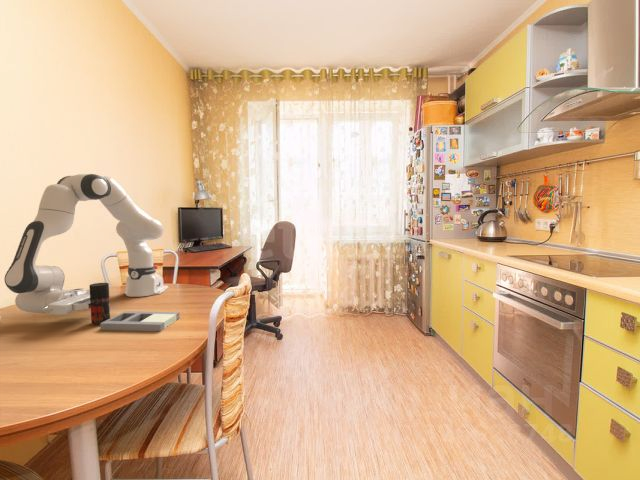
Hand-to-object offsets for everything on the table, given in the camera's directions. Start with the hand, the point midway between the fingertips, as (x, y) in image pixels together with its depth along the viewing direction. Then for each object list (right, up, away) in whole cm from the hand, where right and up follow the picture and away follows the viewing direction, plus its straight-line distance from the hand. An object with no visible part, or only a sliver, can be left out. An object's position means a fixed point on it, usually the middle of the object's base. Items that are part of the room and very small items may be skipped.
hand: (98, 302), depth 120 cm
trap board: (+17, -8, 0) cm, 18 cm away
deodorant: (+1, -8, +1) cm, 8 cm away
